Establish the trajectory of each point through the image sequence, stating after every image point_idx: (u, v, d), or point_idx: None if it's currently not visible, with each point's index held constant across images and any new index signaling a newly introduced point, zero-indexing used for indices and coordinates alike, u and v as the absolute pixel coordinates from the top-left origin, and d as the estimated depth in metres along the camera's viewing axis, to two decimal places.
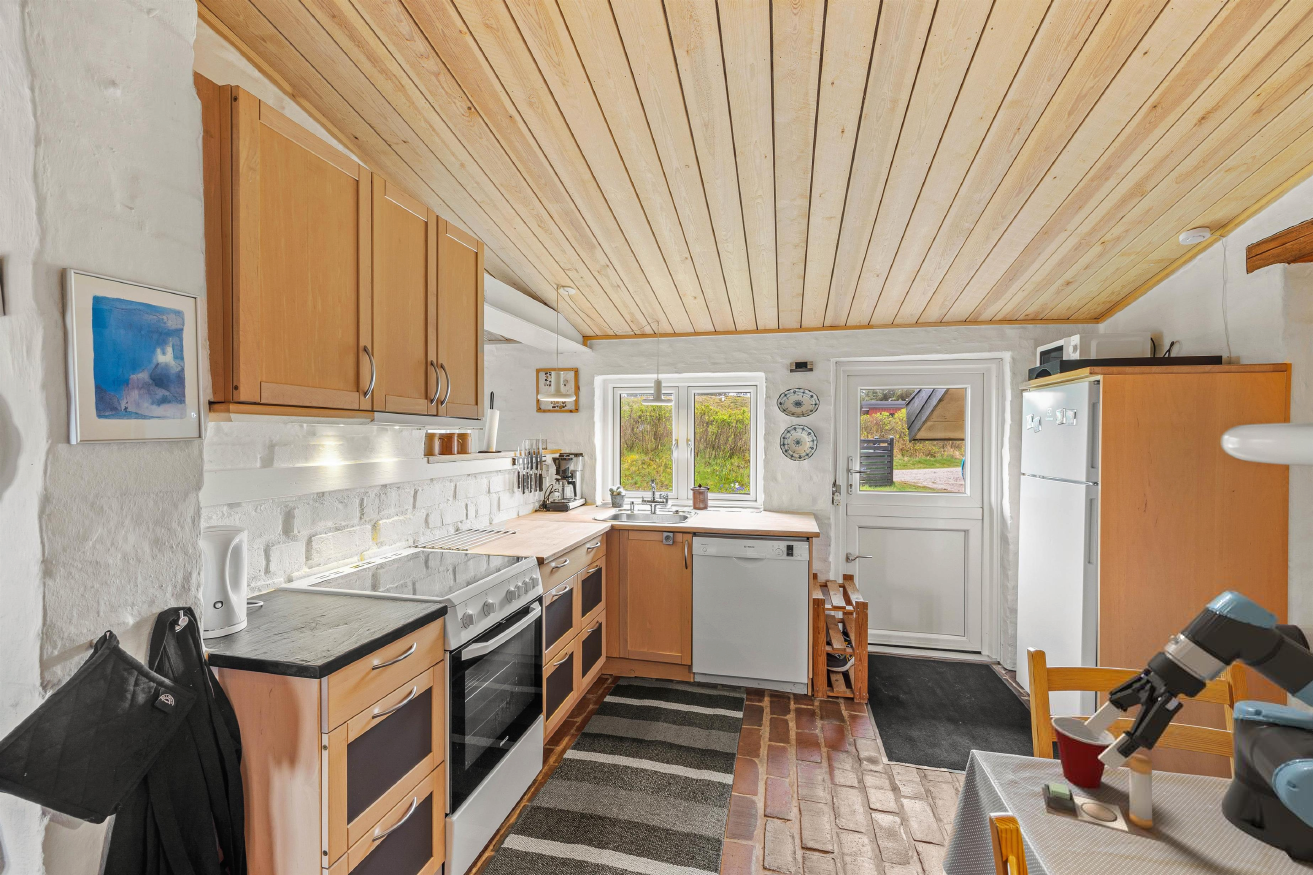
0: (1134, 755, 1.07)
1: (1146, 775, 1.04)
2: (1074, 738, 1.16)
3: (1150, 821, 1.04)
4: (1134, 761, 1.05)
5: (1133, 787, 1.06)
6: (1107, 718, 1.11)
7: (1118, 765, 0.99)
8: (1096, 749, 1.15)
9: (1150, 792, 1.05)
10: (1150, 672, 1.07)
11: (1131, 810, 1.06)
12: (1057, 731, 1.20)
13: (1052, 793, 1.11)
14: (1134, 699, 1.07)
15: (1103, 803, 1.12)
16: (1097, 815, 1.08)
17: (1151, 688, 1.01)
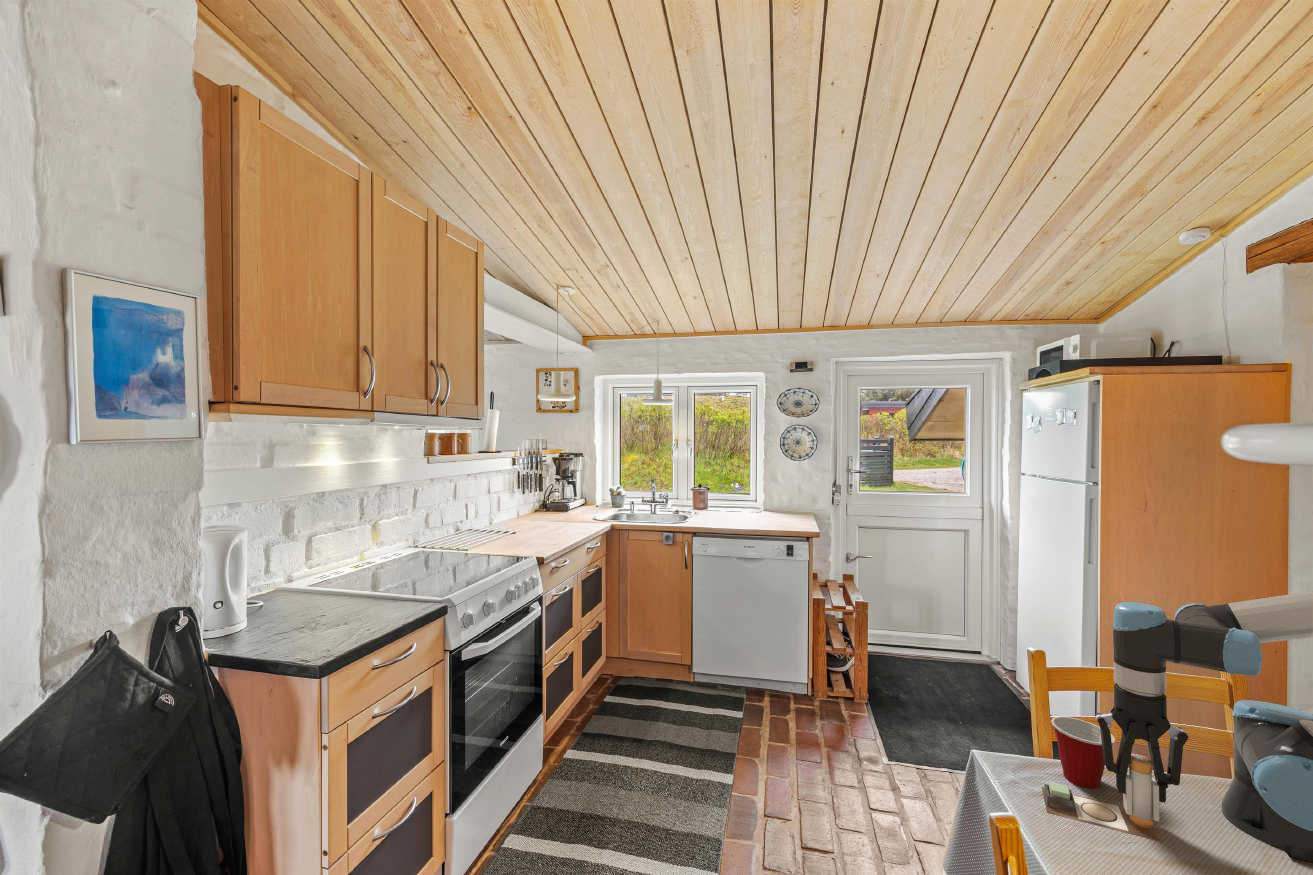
0: (1134, 755, 1.07)
1: (1146, 775, 1.04)
2: (1074, 738, 1.16)
3: (1150, 821, 1.04)
4: (1134, 761, 1.05)
5: (1133, 787, 1.06)
6: (1152, 796, 1.05)
7: (1126, 806, 1.06)
8: (1096, 749, 1.15)
9: (1150, 792, 1.04)
10: (1178, 728, 1.04)
11: None
12: (1057, 731, 1.20)
13: (1052, 793, 1.11)
14: (1151, 754, 1.05)
15: (1103, 803, 1.12)
16: (1097, 815, 1.08)
17: None
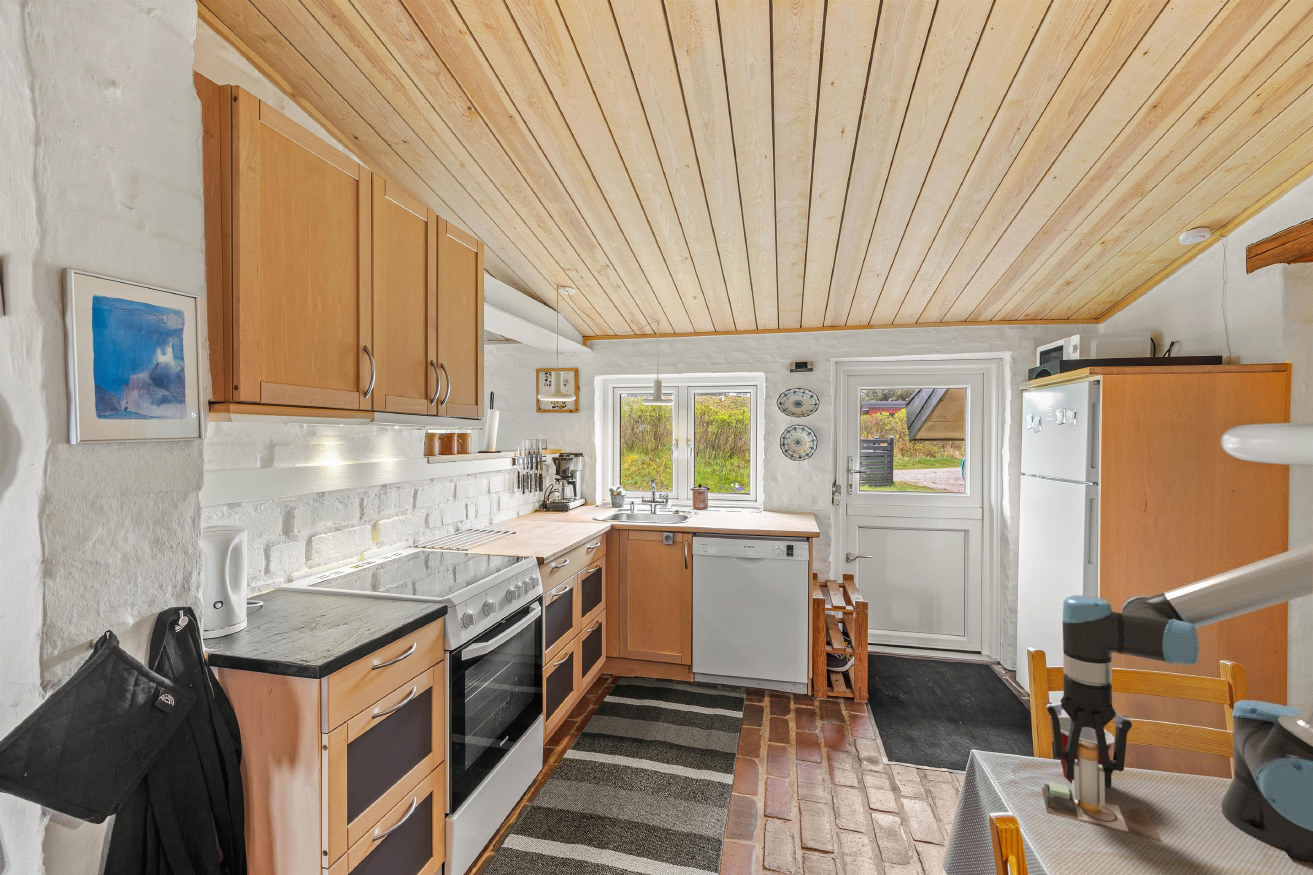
0: (1082, 742, 1.11)
1: (1093, 761, 1.09)
2: None
3: (1096, 806, 1.09)
4: (1081, 748, 1.10)
5: (1081, 773, 1.10)
6: None
7: (1074, 791, 1.10)
8: None
9: (1096, 778, 1.09)
10: (1123, 717, 1.08)
11: (1079, 795, 1.10)
12: None
13: (1052, 793, 1.11)
14: (1098, 741, 1.09)
15: None
16: (1097, 815, 1.08)
17: None
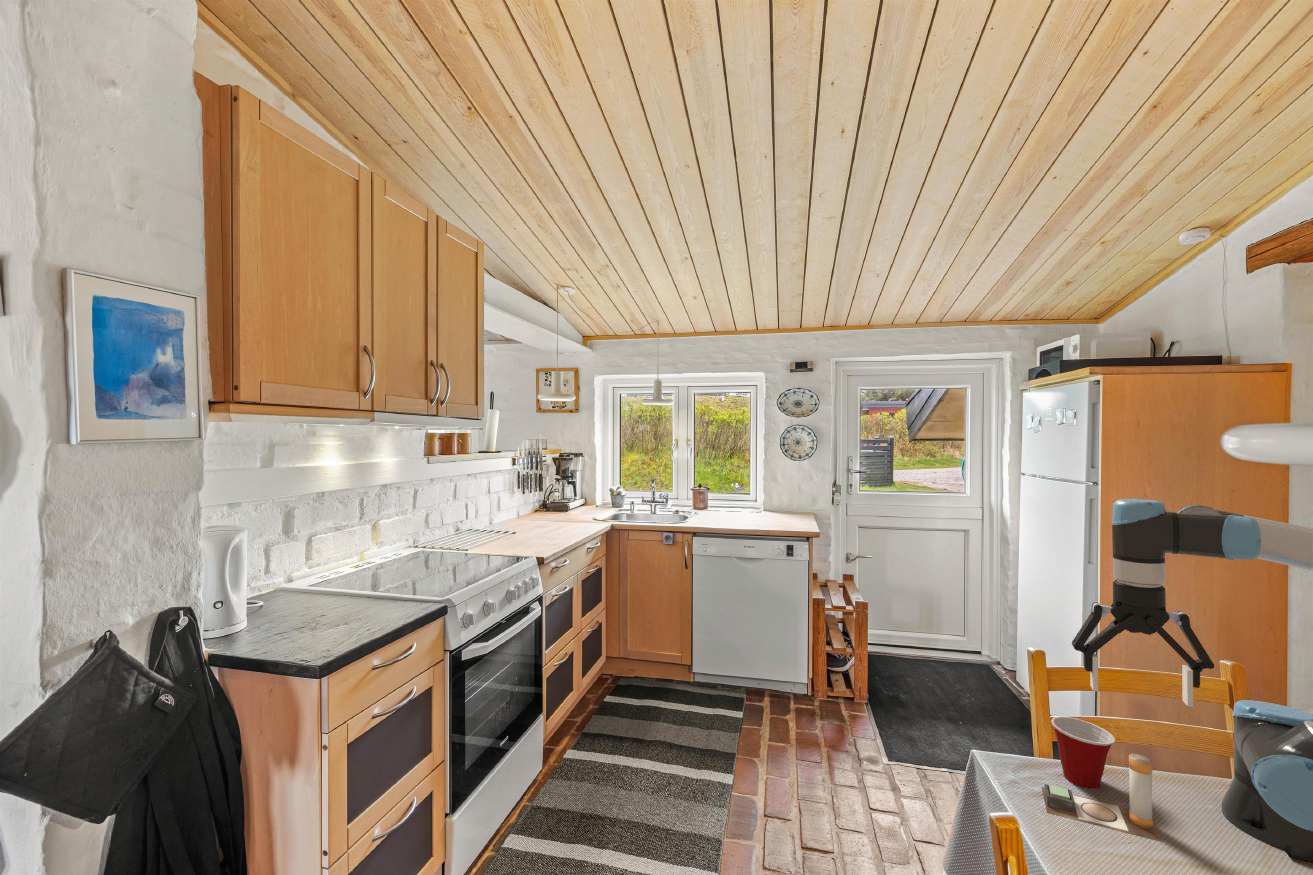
0: (1134, 755, 1.07)
1: (1146, 775, 1.04)
2: (1074, 738, 1.16)
3: (1150, 821, 1.04)
4: (1134, 761, 1.05)
5: (1133, 787, 1.06)
6: (1185, 682, 1.03)
7: (1092, 683, 1.08)
8: (1096, 749, 1.15)
9: (1150, 792, 1.05)
10: (1177, 613, 1.04)
11: (1131, 810, 1.06)
12: (1057, 731, 1.20)
13: None
14: None
15: (1103, 803, 1.12)
16: (1097, 815, 1.08)
17: None
